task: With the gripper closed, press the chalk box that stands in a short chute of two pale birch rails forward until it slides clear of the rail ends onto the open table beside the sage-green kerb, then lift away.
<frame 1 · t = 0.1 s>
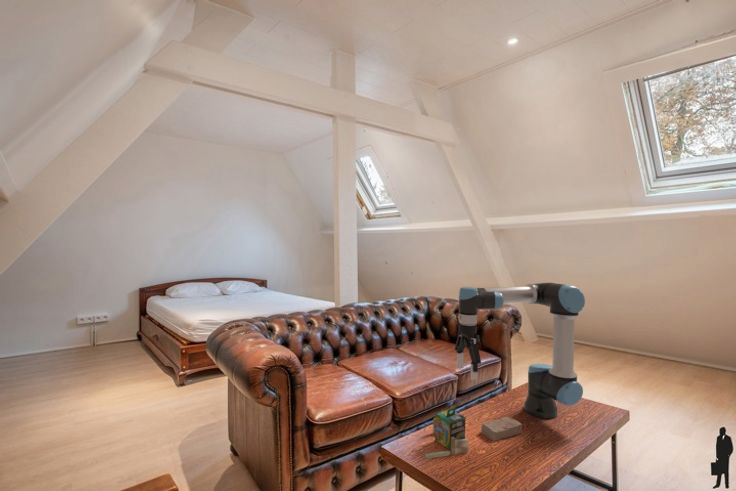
hand: (466, 373, 157), 28 cm above the table, fingers open, 13 cm apart
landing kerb: (437, 456, 144), on the table
chalk box: (449, 442, 154), on the table
chute: (449, 442, 154), on the table
brick: (501, 434, 162), on the table
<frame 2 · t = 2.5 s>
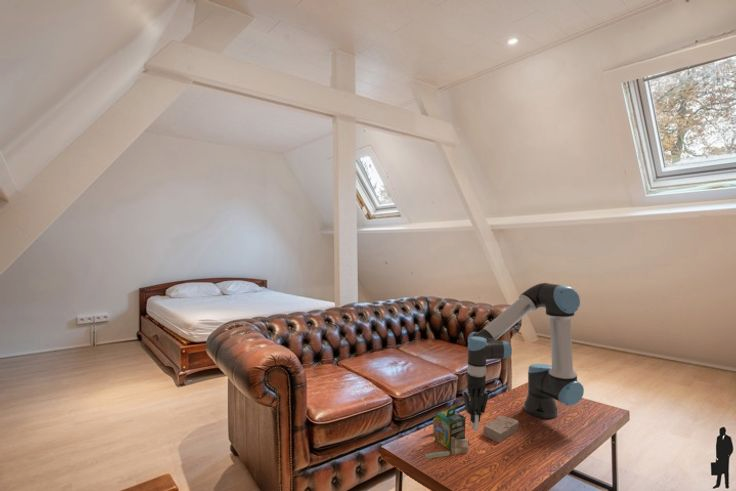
hand: (474, 429, 157), 4 cm above the table, fingers closed
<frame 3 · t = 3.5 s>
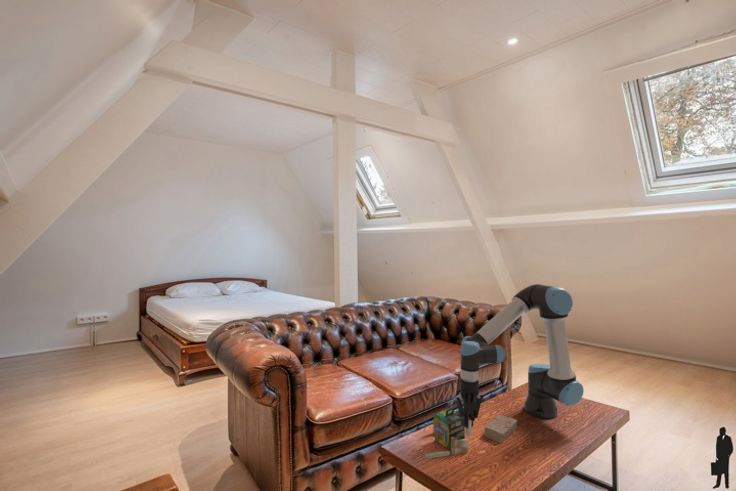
hand: (468, 434, 156), 2 cm above the table, fingers closed
chalk box: (449, 442, 154), on the table, touching hand
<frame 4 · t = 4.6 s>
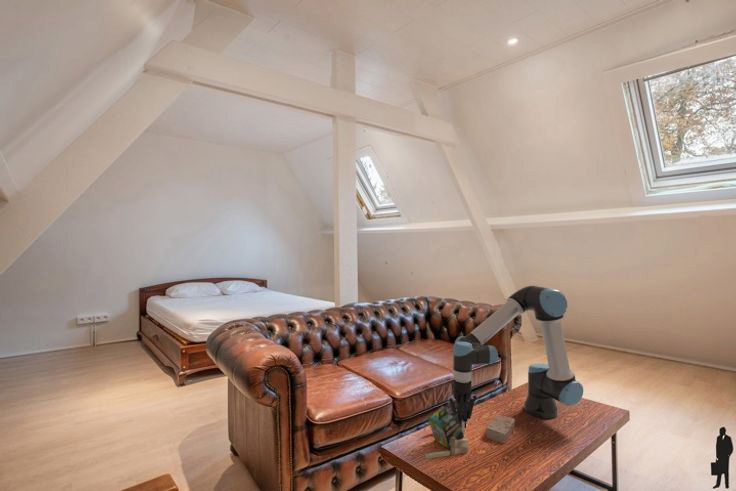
hand: (461, 435, 155), 2 cm above the table, fingers closed
chalk box: (449, 439, 154), point 1 cm above the table, touching gripper, hand
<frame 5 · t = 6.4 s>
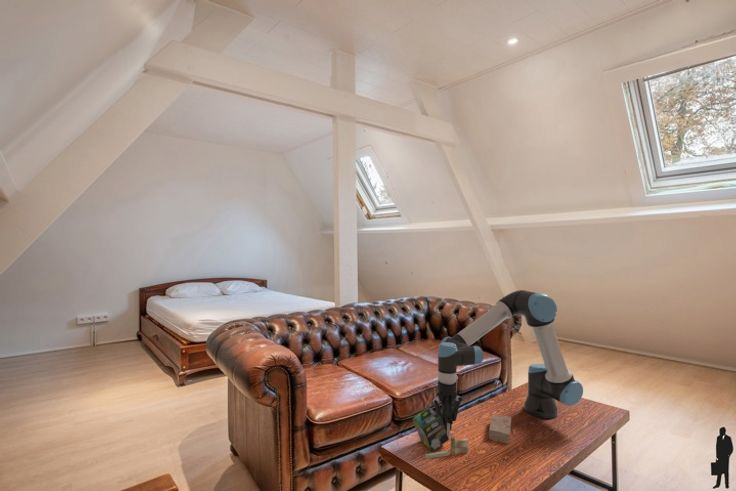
hand: (446, 438, 152), 2 cm above the table, fingers closed
chalk box: (434, 441, 152), point 1 cm above the table, touching gripper, hand
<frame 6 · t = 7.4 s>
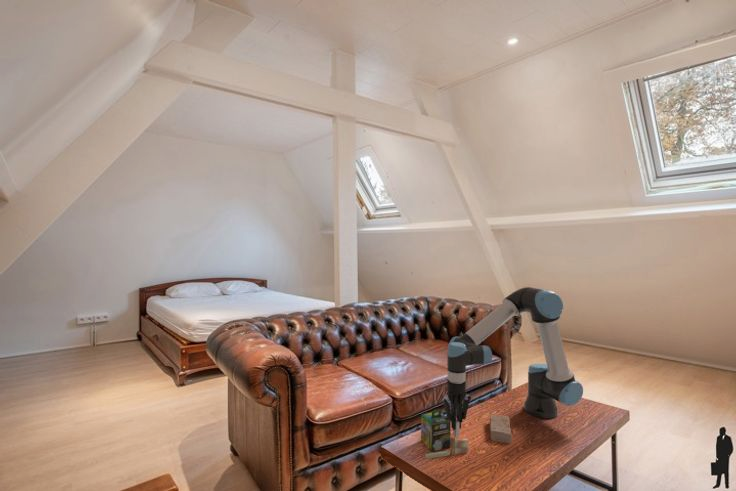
hand: (456, 436, 155), 2 cm above the table, fingers closed
chalk box: (435, 444, 152), on the table
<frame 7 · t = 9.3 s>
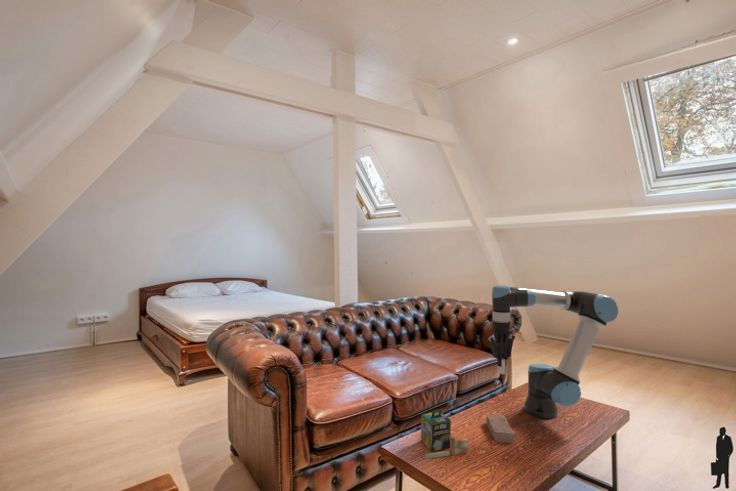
hand: (501, 373, 165), 25 cm above the table, fingers closed
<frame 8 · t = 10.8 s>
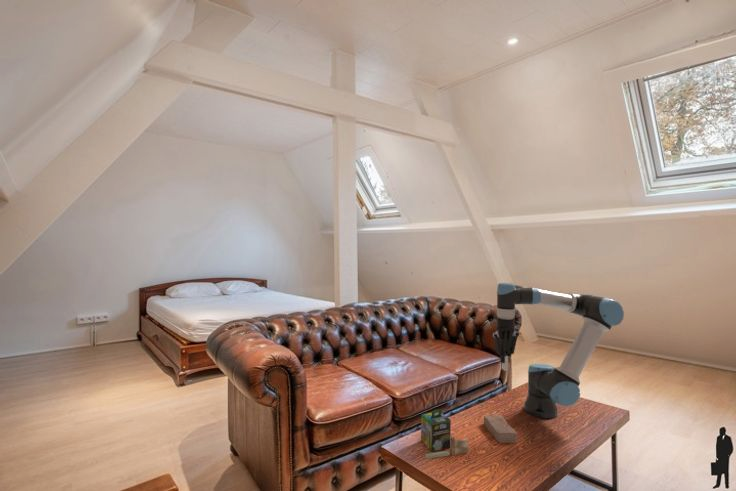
hand: (504, 369, 166), 26 cm above the table, fingers closed
at the end: chalk box inside the target area (7.4 cm from its centre), on the table; chalk box moved 6.6 cm from its start; the gripper is holding nothing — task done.
